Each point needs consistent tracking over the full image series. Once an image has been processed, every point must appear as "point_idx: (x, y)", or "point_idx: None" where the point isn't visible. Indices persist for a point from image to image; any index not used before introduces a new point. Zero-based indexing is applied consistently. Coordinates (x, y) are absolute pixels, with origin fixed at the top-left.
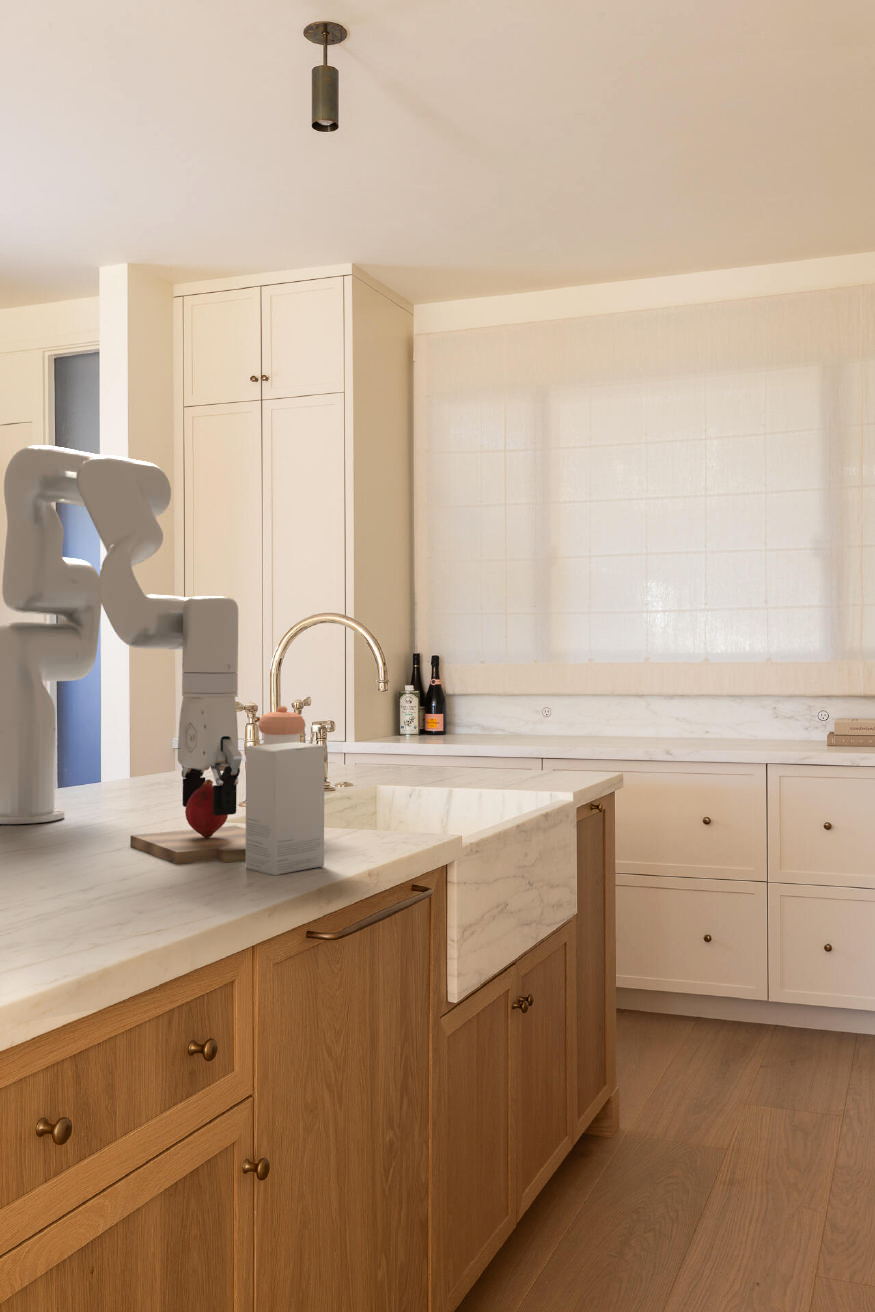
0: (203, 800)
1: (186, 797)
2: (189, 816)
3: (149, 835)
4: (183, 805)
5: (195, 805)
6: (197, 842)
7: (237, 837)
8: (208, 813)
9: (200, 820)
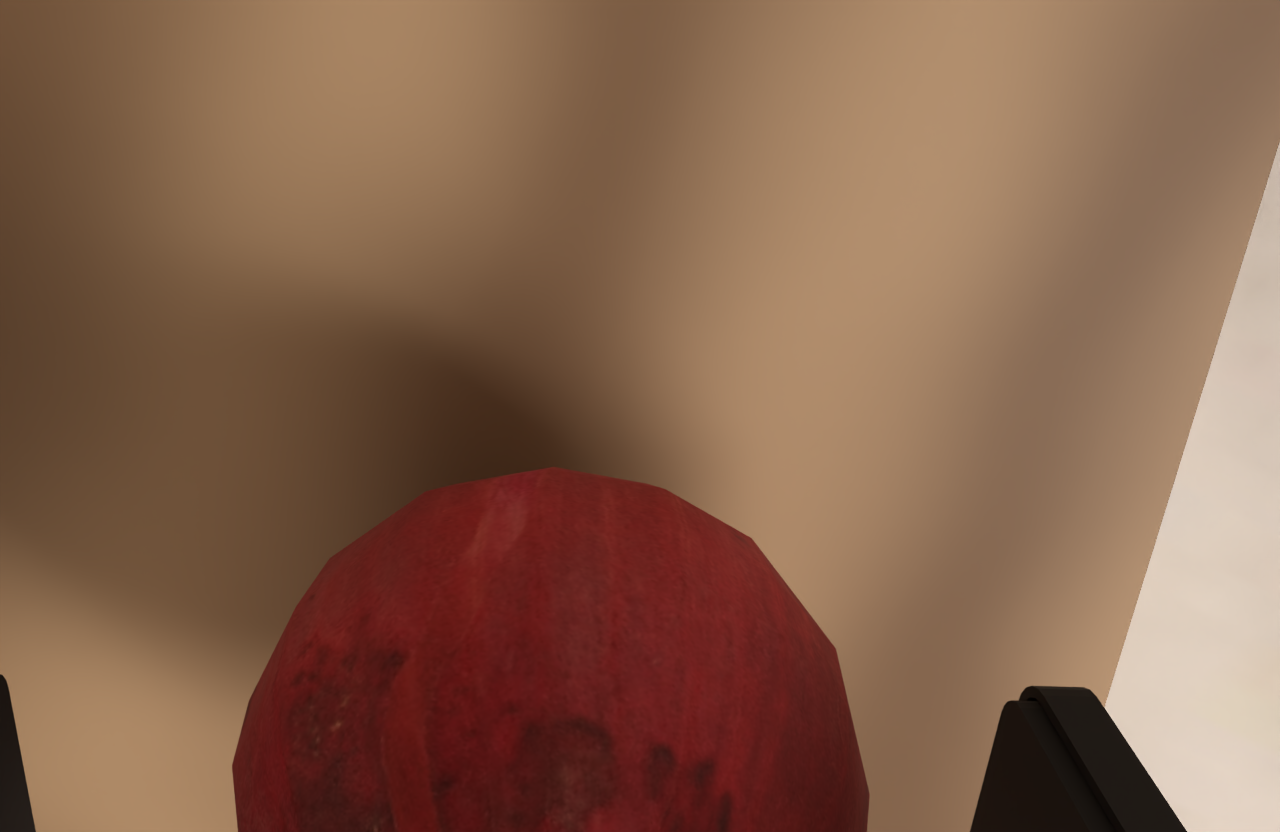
0: (306, 788)
1: (1063, 801)
2: (514, 492)
3: (1134, 134)
4: (1064, 690)
5: (392, 637)
6: (310, 356)
7: None
8: (259, 684)
9: (348, 548)
